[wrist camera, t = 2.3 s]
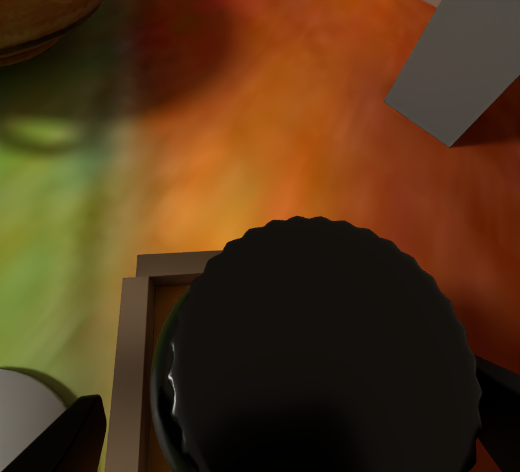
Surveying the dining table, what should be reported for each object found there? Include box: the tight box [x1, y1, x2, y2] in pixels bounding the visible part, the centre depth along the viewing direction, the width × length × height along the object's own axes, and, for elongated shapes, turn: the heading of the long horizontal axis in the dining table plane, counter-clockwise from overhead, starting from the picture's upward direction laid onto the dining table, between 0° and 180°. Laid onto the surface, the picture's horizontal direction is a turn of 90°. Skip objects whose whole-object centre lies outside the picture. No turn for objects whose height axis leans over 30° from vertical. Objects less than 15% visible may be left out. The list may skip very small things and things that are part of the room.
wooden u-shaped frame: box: [105, 250, 223, 472], centre depth 14 cm, size 11×12×2 cm
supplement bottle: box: [150, 216, 483, 472], centre depth 10 cm, size 7×7×12 cm
